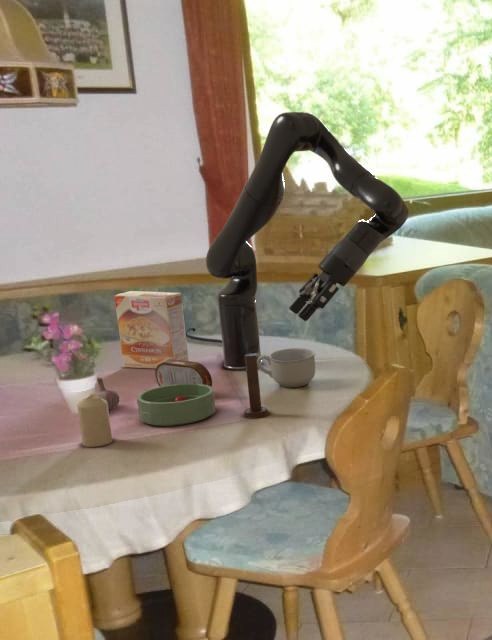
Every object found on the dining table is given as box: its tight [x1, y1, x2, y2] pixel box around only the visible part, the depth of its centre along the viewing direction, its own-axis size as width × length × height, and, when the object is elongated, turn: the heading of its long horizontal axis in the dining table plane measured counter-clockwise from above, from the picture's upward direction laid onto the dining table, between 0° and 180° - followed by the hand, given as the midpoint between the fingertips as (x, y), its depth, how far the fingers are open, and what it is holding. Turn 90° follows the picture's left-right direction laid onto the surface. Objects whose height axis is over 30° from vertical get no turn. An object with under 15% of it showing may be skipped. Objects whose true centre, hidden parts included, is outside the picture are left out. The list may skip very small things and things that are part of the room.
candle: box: [76, 394, 113, 448], centre depth 211 cm, size 6×6×10 cm
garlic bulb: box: [89, 376, 120, 411], centre depth 233 cm, size 8×7×8 cm
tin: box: [154, 359, 213, 387], centre depth 244 cm, size 15×3×8 cm, turn 71°
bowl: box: [136, 383, 217, 427], centre depth 228 cm, size 16×16×6 cm
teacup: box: [257, 347, 316, 388], centre depth 254 cm, size 14×11×8 cm
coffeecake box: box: [114, 290, 190, 370], centre depth 269 cm, size 15×7×20 cm, turn 81°
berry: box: [174, 396, 186, 402], centre depth 233 cm, size 3×3×3 cm
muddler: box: [243, 354, 269, 419], centre depth 229 cm, size 5×5×14 cm
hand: (297, 315), depth 232 cm, fingers open, 8 cm apart
